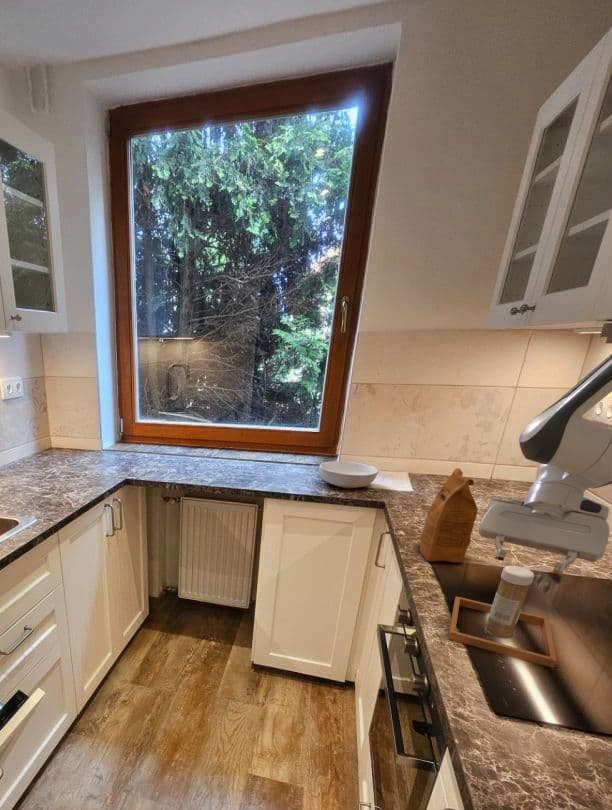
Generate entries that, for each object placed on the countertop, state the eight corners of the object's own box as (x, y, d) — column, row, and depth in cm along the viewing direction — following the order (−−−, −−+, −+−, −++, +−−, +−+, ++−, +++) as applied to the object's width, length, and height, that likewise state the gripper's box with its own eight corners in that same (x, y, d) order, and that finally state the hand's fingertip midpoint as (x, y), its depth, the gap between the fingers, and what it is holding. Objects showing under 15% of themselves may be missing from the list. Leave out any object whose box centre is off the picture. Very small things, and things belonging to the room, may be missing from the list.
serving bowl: (368, 496, 168) (372, 477, 165) (310, 487, 178) (312, 469, 175) (379, 482, 183) (383, 465, 181) (325, 474, 194) (328, 458, 191)
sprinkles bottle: (517, 636, 88) (540, 573, 83) (501, 643, 86) (525, 578, 81) (492, 624, 92) (513, 562, 86) (477, 630, 90) (498, 567, 85)
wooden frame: (544, 629, 91) (549, 618, 90) (551, 673, 80) (556, 660, 78) (452, 606, 99) (455, 596, 98) (446, 643, 87) (450, 632, 86)
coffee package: (456, 548, 126) (478, 468, 117) (466, 567, 116) (492, 481, 107) (415, 543, 129) (434, 464, 120) (421, 562, 119) (442, 477, 110)
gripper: (491, 488, 99) (467, 544, 97) (620, 509, 87) (597, 575, 84) (490, 503, 104) (467, 557, 102) (612, 525, 91) (590, 588, 89)
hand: (527, 565), depth 93 cm, fingers open, 8 cm apart
